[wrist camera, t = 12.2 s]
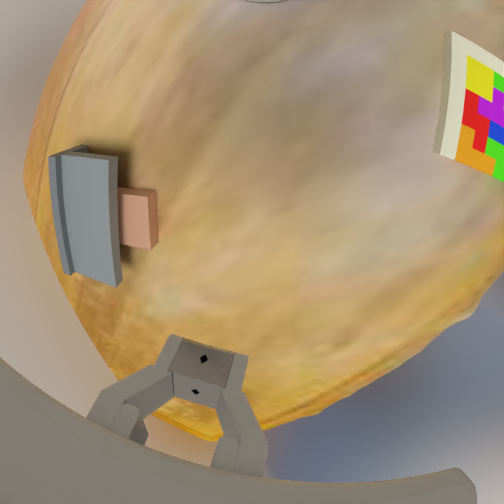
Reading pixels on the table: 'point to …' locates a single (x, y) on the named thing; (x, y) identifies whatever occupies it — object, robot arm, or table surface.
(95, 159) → the grey block
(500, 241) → the table surface
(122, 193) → the tile
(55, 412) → the robot arm
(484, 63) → the puzzle game
